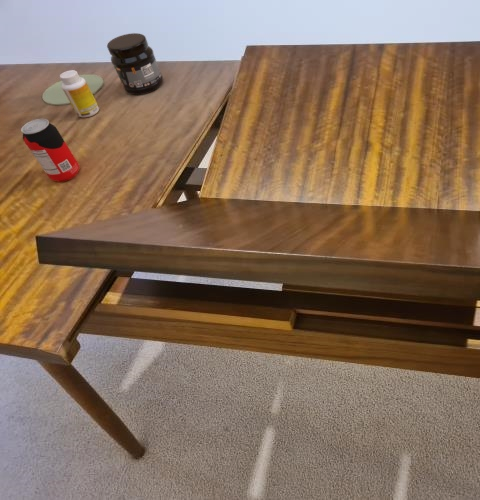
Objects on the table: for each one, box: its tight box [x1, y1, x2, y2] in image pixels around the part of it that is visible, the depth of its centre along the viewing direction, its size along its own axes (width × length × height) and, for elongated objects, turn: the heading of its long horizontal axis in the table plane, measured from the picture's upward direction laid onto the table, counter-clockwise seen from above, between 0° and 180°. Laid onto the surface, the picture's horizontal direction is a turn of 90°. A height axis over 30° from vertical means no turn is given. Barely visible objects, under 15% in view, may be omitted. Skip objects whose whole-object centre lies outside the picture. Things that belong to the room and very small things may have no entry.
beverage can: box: [20, 118, 80, 183], centre depth 93 cm, size 6×6×12 cm
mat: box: [41, 73, 105, 106], centre depth 124 cm, size 16×16×1 cm
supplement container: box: [106, 32, 164, 95], centre depth 118 cm, size 10×10×12 cm
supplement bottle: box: [59, 69, 100, 119], centre depth 111 cm, size 6×6×10 cm
